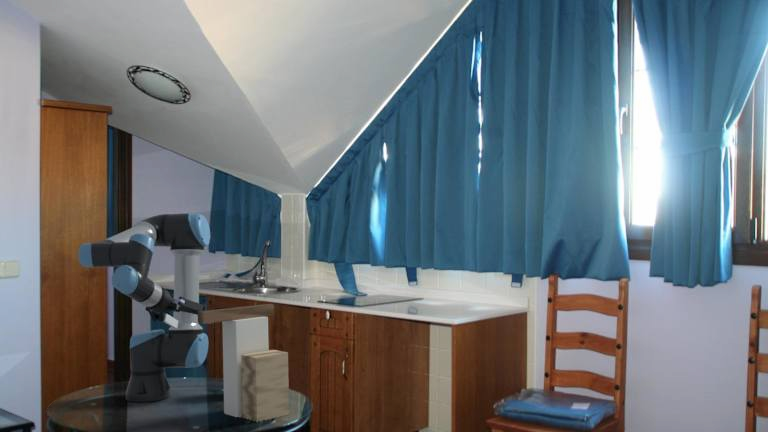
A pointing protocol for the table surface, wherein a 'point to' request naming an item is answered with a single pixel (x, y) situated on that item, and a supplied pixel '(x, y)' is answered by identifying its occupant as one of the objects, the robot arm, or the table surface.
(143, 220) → the robot arm
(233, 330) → the white block
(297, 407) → the table surface
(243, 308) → the walnut bar
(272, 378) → the oak block
